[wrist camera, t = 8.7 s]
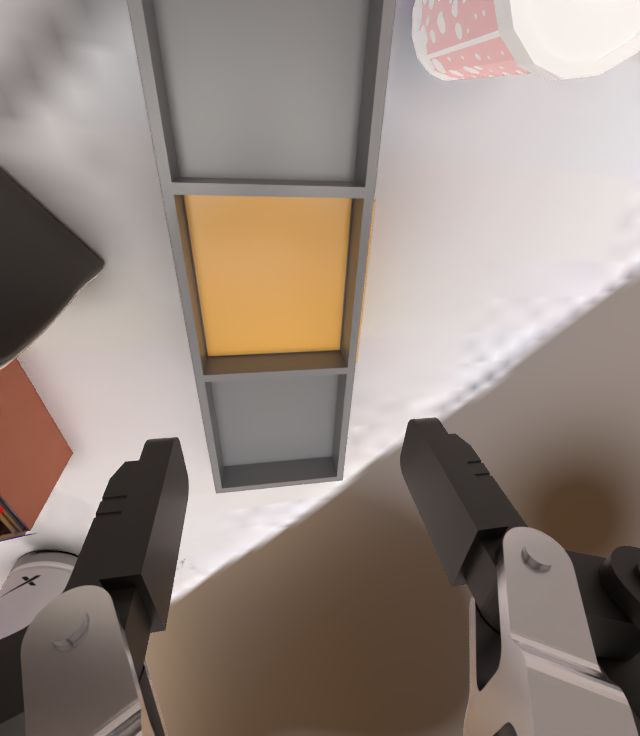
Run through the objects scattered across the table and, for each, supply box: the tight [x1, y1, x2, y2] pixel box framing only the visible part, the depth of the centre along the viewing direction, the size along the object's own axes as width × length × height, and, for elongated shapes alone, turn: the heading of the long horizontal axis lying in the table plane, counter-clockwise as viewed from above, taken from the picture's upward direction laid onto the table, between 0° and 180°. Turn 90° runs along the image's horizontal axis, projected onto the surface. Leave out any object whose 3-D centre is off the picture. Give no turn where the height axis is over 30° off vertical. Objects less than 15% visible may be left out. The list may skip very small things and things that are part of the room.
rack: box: [127, 0, 396, 493], centre depth 21 cm, size 32×10×3 cm, turn 178°
